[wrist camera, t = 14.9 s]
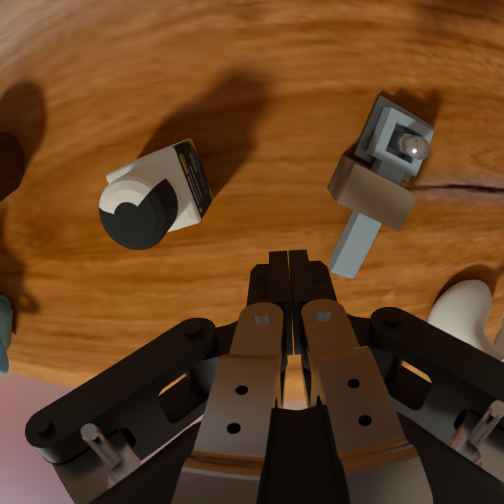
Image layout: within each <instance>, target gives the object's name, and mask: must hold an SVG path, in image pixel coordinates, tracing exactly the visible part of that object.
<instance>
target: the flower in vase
mask: <svg viewBox="0 0 504 504" xmlns="http://www.w3.org/2000/svg"><path fill="white" fill-rule="evenodd" d="M491 306H492V297H491V293H490V290H489V287H488V286H487V285H486V284H485V283H484V282H482V281H480V280H465V281H462V282H459V283H457V284H455V285H453V286H452V287H450V288H449V289H448V290H447V291H445V292H444V293H443V294H442V295H441V296H440V297H439V299H438V300H437V301H436V303H435V304H434V306H433V308H432V310H431V312H430V315H429V318H428V323H429V324H431V325H433V326H435V327H437V328H439V329H441V330H443V331H445V332H447V333H449V334H451V335H452V336H454V337H456V338H458V339H460V340H462V341H464V342H466V343H469V344H470V345H472V346H473V347H475V348H477V349H479V350H481V351H483V352H485V353H487V354H489V355H491V356H492V357H494V358H496V359H498V360H500V361H502V362H504V356H503V355H502V354H500V353H499V352H498V351H497V350H495V348H494V347H493V346H492V345H491V344H490V342H489V341H488V339H487V338H486V336H485V334H484V332H483V328H484V326H485V324H486V322H487V319H488V317H489V314H490V310H491Z"/></svg>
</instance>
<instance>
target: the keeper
mask: <svg viewBox="0 0 504 504" xmlns="http://www.w3.org/2000/svg"><path fill="white" fill-rule="evenodd" d="M327 188H328V190H329V192H330V193H331V195H332V196H333V198H334V200H335V201H336V203H338V204H340V205H343V206H345V207H347V208H349V209H352V210H354V211H356V212H358V213H361V214H363V215H365V216H367V217H369V218H371V219H374V220H376V221H378V222H380V223H382V224H384V225H386V226H389V227H391V228H393V229H395V230H397V231H400V229H401V228H402V226H403V224H404V222H405V220H406V218H407V216H408V215H409V213H410V211H411V209H412V207H413V205H414V203H415V201H416V199H417V197H418V196H417V195H416V194H414V193H413V192H411V191H409V190H407V189H406V188H404V187H402V186H400V185H398V184H396V183H394V182H392V181H391V180H389V179H387V178H385V177H383V176H381V175H379V174H377V173H375V172H373V171H371V170H370V169H368V168H367V167H366V166H364V165H363V164H361V163H360V162H358V161H356V160H354V159H352V158H350V157H348V156H346V155H343V154H342V157H341V159H340V161H339V163H338V165H337V168H336V170H335V172H334V174H333V176H332V179H331V181H330V183H329V185H328V187H327Z"/></svg>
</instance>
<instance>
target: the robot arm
mask: <svg viewBox="0 0 504 504" xmlns="http://www.w3.org/2000/svg"><path fill="white" fill-rule="evenodd" d="M289 273H290V279H289ZM292 322H293V336H294V352H295V355H297V354H301V373H302V379H303V385H304V390H305V396H306V402H307V406H308V408H307V409H303V410H289V409H283V404H284V393H285V380H286V367H287V363H288V359H287V355H293V342H292ZM403 361H405V362H407V363H408V364H410V365H412V366H413V367H415V368H417V369H418V370H420V371H422V372H423V373H425V374H426V375H428V377H429V378H430V380H431V382H432V383H430V382H428V381H427V380H425V379H423V378H422V377H420V376H418V375H417V374H415V373H413V372H412V371H410V370H408V369H407V368H405V367H403V366H402V363H403ZM184 373H185V375H186V377H184V378H183V379H182V380H180V381H179V382H177V383H176V384H175V385H173V386H172V387H170V388H169V389H168V390H166V391H165V392H163V393H162V394H161V395H159V394H160V392H161V391H162V389H164V388H165V387H166V386H168V385H169V384H170V383H172V382H173V381H175V380H176V379H177V378H179V377H180V376H181V375H183V374H184ZM395 410H396V411H395ZM202 414H204V415H203V418H202V421H200V422H198V423H196V424H194V425H192V426H191V427H189V428H188V429H186V430H185V431H184V432H182V433H181V434H180V435H179V436H178V437H176V438H175V439H174V440H173V441H171V442H170V443H169V444H168V445H167V446H165V447H164V448H163V449H161V450H160V451H159V452H158V453H156V454H155V455H154V456H153V457H151V458H150V459H149V460H148V461H146V462H145V463H143V464H142V465H141V462H140V461H142V460H143V459H144V458H146V457H147V456H148V455H150V454H151V453H153V452H154V451H155V450H157V449H158V448H160V447H161V446H162V445H164V444H165V443H166V442H168V441H169V440H170V439H172V438H173V437H174V436H176V435H177V434H178V433H180V432H181V431H182V430H183V429H185V428H186V427H187V426H189V425H190V424H191V423H192V422H194V421H195V420H196V419H197V418H199V417H200V416H201V415H202ZM25 435H26V439H27V441H28V442H29V443H30V444H31V445H32V446H33V447H34V448H35V449H36V450H37V451H38V452H39V453H40V454H41V455H42V456H43V458H44V459H45V460H46V461H47V462H48V463H49V464H50V465H52V466H53V467H54V469H55V471H56V473H57V474H58V476H59V478H60V480H61V482H62V483H63V485H64V487H65V489H66V490H67V492H68V493H69V495H70V497H71V498H72V500H73V502H74V503H75V504H504V362H502V361H500V360H498V359H496V358H494V357H492V356H491V355H489V354H487V353H485V352H483V351H481V350H479V349H477V348H475V347H473V346H472V345H470V344H468V343H466V342H464V341H462V340H460V339H458V338H456V337H454V336H452V335H451V334H449V333H447V332H445V331H443V330H441V329H439V328H437V327H435V326H433V325H431V324H429V323H427V322H425V321H423V320H421V319H420V318H418V317H416V316H414V315H412V314H410V313H408V312H406V311H404V310H402V309H399V308H395V307H384V308H380V309H378V310H376V311H374V312H373V313H372V315H371V317H370V319H369V318H361V317H355V316H352V315H349V314H347V313H346V311H345V309H344V307H343V306H342V305H341V304H340V303H338V302H337V298H336V295H335V291H334V288H333V285H332V282H331V278H330V276H329V271H328V268H327V266H326V265H325V264H323V263H322V262H321V261H309V259H308V254H307V250H289V267H288V256H287V251H274V252H269V264H257V265H256V266H255V267H254V268H253V269H252V271H251V274H250V282H249V290H248V298H247V306H246V308H244V309H243V310H242V311H241V313H240V315H239V319H238V321H236V322H234V323H232V324H229V325H225V326H221V327H217V328H216V327H215V325H214V323H213V322H212V321H210V320H208V319H205V318H191V319H187V320H185V321H182V322H181V323H179V324H177V325H176V326H174V327H173V328H171V329H170V330H168V331H167V332H165V333H163V334H162V335H160V336H159V337H157V338H156V339H154V340H152V341H151V342H149V343H148V344H146V345H145V346H143V347H141V348H140V349H138V350H137V351H135V352H134V353H132V354H130V355H129V356H127V357H126V358H124V359H122V360H121V361H119V362H118V363H116V364H114V365H113V366H111V367H110V368H108V369H106V370H105V371H103V372H102V373H100V374H98V375H97V376H95V377H94V378H92V379H90V380H89V381H87V382H85V383H84V384H82V385H81V386H79V387H77V388H76V389H74V390H73V391H71V392H69V393H68V394H66V395H64V396H63V397H61V398H59V399H58V400H56V401H54V402H53V403H51V404H50V405H48V406H46V407H45V408H43V409H41V410H40V411H38V412H37V413H35V414H34V415H33V416H32V417H31V418H30V419H29V421H28V422H27V424H26V428H25ZM448 445H449V446H448ZM140 465H141V466H140Z"/></svg>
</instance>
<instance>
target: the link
mask: <svg viewBox="0 0 504 504" xmlns="http://www.w3.org/2000/svg"><path fill="white" fill-rule="evenodd" d="M396 124H398V125H400V126H402V127H404V128H406V129H408V130H409V131H411V132H413V133H414V135H415V136H418V137H421V138H424V139H426V140H427V141H428V143H429V144H430V141H431V138H432V136H433V133H434V131H433V130H431V129H429V128H428V127H426V126H424V125H422V124H421V123H419V122H417V121H415V120H414V119H412V118H410V117H408V116H406V115H405V114H403V113H401V112H399V111H397V110H395V109H393V108H390V107H384V108H383V111H382V113H381V116H380V118H379V121H378V124H377V126H376V129H375V131H374V134H373V136H372V139H371V141H370V144H369V146H368V149H367V151H366V153H368V154H370V155H372V156H374V157H376V159H375V161H374V163H373V166H372V168H371V171H373V172H375V173H377V174H379V175H381V176H383V177H385V178H387V179H389V180H391V181H392V182H394V183H396V184H398V185H400V183H401V181H402V179H403V177H404V174H405V172H407V173H409V174H411V175H413V176H415V177H416V175H417V173H418V170H419V168H420V166H421V163H422V161H423V160H418V159H415V158H413V157H411V156H409V155H407V154H406V155H405V157H404V160H403V159H401V158H399V157H397V156H395V155H393V154H391V153H389V152H387V151H385V150H386V148H387V145H388V143H389V140H390V138H391V135H392V133H393V130H394V127H395V125H396ZM381 224H382V223H380V222H378V221H376V220H374V219H371V218H369V217H367V216H365V215H363V214H361V213H358V212H356V211H354V210H353V212H352V214H351V216H350V218H349V220H348V223H347V225H346V227H345V229H344V231H343V233H342V235H341V238H340V240H339V242H338V244H337V246H336V248H335V250H334V252H333V254H332V256H331V258H330V260H329V262H328V264H329V268H330V271H331V272H332V273H335V274H338V275H341V276H344V277H347V278H350V279H354V277H355V275H356V273H357V271H358V269H359V268H360V266H361V264H362V262H363V260H364V258H365V256H366V254H367V252H368V250H369V248H370V246H371V244H372V243H373V241H374V239H375V237H376V235H377V232H378V230H379V228H380V226H381Z"/></svg>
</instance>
